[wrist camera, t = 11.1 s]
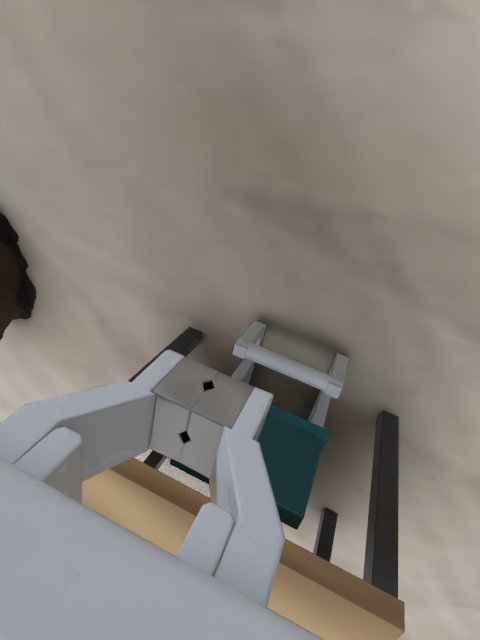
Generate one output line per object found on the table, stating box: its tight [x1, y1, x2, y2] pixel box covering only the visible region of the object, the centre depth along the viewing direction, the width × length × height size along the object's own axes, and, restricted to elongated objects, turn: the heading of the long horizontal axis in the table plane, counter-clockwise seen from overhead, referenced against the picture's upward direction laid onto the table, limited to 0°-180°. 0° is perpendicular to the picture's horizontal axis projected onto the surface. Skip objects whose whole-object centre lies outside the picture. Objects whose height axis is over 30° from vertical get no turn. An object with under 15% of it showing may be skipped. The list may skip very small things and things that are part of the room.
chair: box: [170, 321, 349, 529], centre depth 26 cm, size 12×8×12 cm, turn 166°
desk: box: [82, 327, 405, 640], centre depth 26 cm, size 14×18×14 cm
